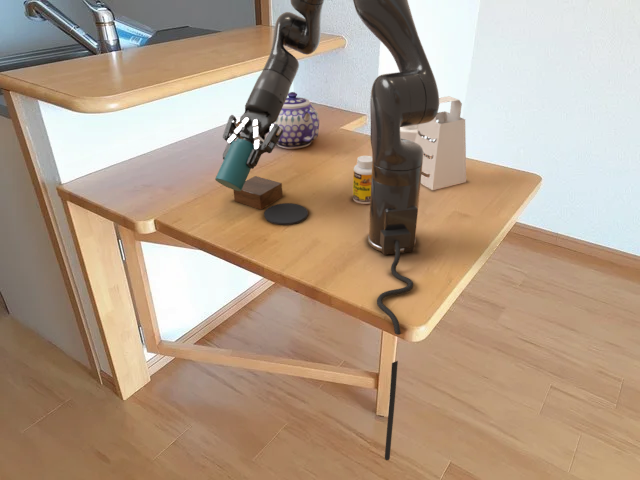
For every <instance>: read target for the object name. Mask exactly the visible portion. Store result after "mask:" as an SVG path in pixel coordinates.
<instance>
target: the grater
mask: <svg viewBox="0 0 640 480" xmlns="http://www.w3.org/2000/svg"><path fill="white" fill-rule="evenodd" d="M448 102H449V103H450V110H449V112H448V111H438V113H437V115H436V117H435V118H434V119H433V120H432V121H430V122H428V123H424V124H419V126H418V130H417V134H416V139H415V143H417V144H418V145H420V146H421V147H422V149H423V163H422V173H424V174H426V175H429V176H425V175H424V174H421V183H420V185H423V186H424V187H426V188H427V189H429V190H431V191H435V190H440V189H444V188H448V187H451V186H455V185H459V184H463V183H467V148H466V147H467V146H466V145H467V144H466V139H467V138H466V137H467V136H466V119H465V118H464V117H461V113H462V105H463V103H462V102H461V100H460V99H459V98H455V97H452V96H449V95H448V96H443V97H439V105H440V104H443V103H448ZM437 121H438V122H437ZM425 137H426V138H425ZM430 157H431V158H430Z"/></svg>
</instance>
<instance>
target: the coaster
mask: <svg viewBox="0 0 640 480" xmlns="http://www.w3.org/2000/svg"><path fill="white" fill-rule="evenodd" d="M263 214H264V218H265V220H266V221H267V222H268V223H271V224H275V225H279V226H289V225H290V226H291V225H295V224H299V223H301V222H303V221H304V220H306V219H307V218H308V214H309V212H308V209H307V208H306V207H305V206H303V205H301V204H298V203H290V202H284V203H276V204H273V205H271V206H269V207H267V208H266V209H265V210H264V213H263Z"/></svg>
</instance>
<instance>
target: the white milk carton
mask: <svg viewBox="0 0 640 480" xmlns="http://www.w3.org/2000/svg"><path fill="white" fill-rule="evenodd" d="M418 126H419V124H418V125H412V126H405V127H400V137H401V139H406V140H410V141H412V142H415V139H416V134H417V130H418Z"/></svg>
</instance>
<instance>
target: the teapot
mask: <svg viewBox="0 0 640 480" xmlns="http://www.w3.org/2000/svg"><path fill="white" fill-rule="evenodd" d="M297 96H298V93H297V92H294V91H291V92H290V91H289V93H288V96H287V98H286V101H285V103H284V105H283V107H282V110H281V112H280V114H279V116H278V118H277V121H276V122H275V123H274V124H278V125H279V126H280V127H281V129H282V130H283V133H282V135H281V137H280V138H279V140H278V142H277V144H276V146H278V147H280V148H281V149H282V148H283V149H286V150H287V149H288V150H289V149H292V150H293V149H301V148H305V147H308V146H310V145H311V144H312V142H314V141H316V140H317V138H318V136H319V132H320V117H319V113H318V111H317V109H316V108H315V107H314V106H313V105H312V104H311V101H310V100H309V99H308V98H306V97H299V96H298V97H297Z"/></svg>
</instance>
